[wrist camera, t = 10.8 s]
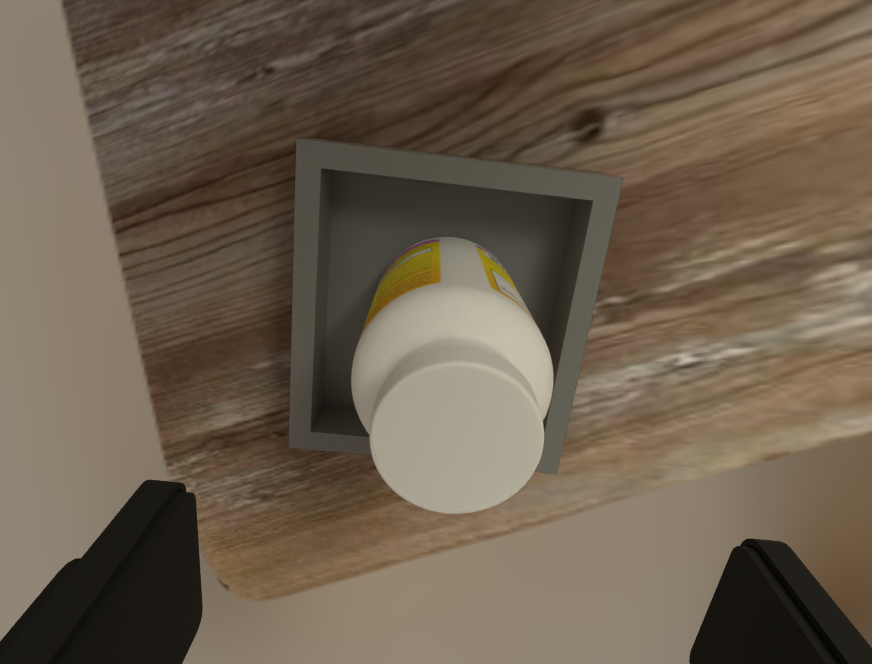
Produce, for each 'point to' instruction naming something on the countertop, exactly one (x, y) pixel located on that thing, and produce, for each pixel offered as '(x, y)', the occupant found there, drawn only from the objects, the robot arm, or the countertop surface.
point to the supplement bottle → (452, 379)
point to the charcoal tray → (424, 219)
